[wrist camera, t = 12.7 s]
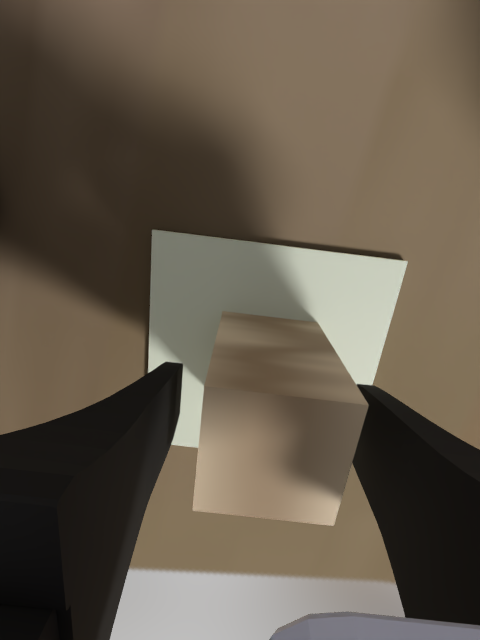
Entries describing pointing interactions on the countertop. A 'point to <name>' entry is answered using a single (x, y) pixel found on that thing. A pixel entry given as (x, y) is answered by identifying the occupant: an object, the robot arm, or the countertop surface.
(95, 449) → the robot arm
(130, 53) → the countertop surface
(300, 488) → the block
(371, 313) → the pad
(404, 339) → the countertop surface
